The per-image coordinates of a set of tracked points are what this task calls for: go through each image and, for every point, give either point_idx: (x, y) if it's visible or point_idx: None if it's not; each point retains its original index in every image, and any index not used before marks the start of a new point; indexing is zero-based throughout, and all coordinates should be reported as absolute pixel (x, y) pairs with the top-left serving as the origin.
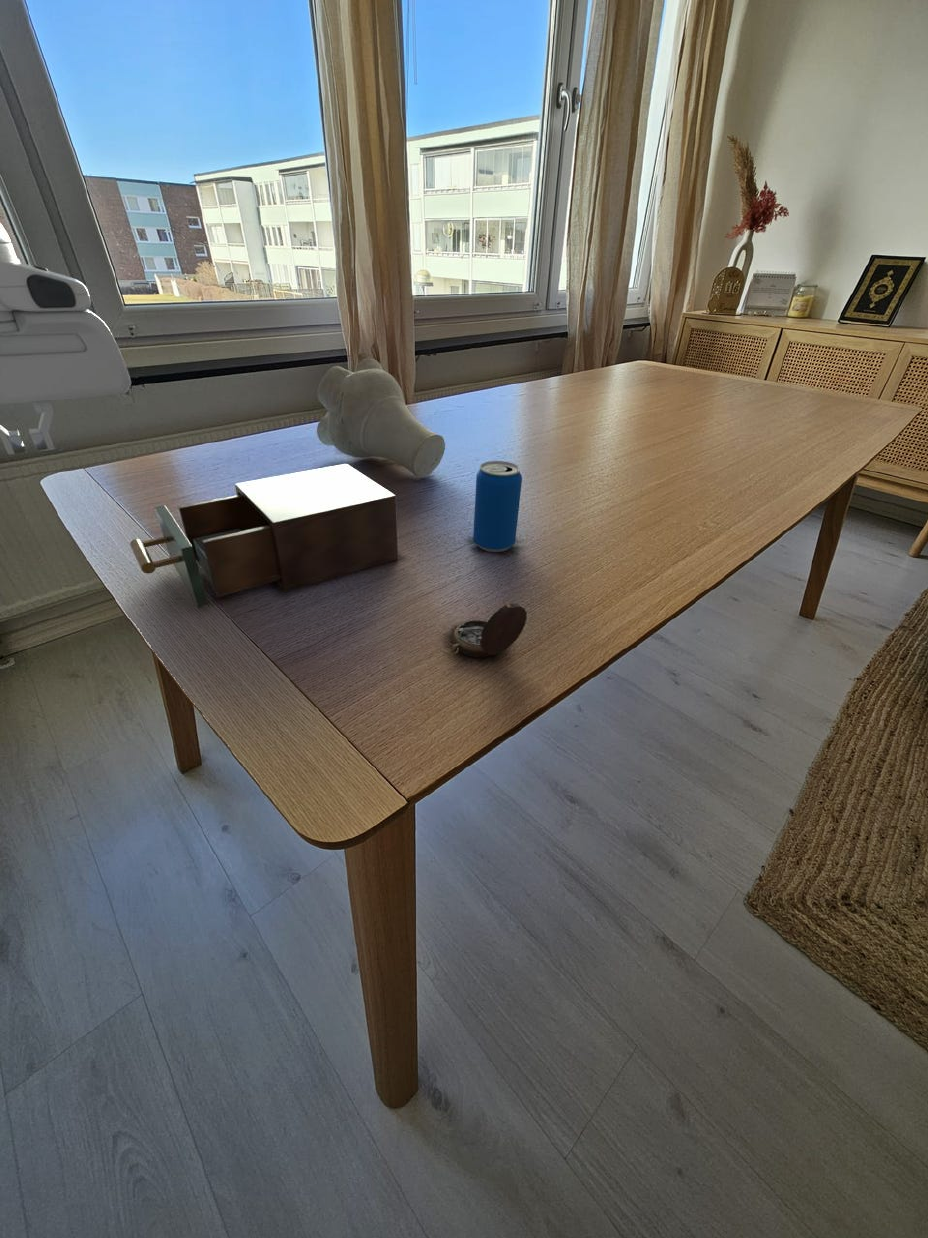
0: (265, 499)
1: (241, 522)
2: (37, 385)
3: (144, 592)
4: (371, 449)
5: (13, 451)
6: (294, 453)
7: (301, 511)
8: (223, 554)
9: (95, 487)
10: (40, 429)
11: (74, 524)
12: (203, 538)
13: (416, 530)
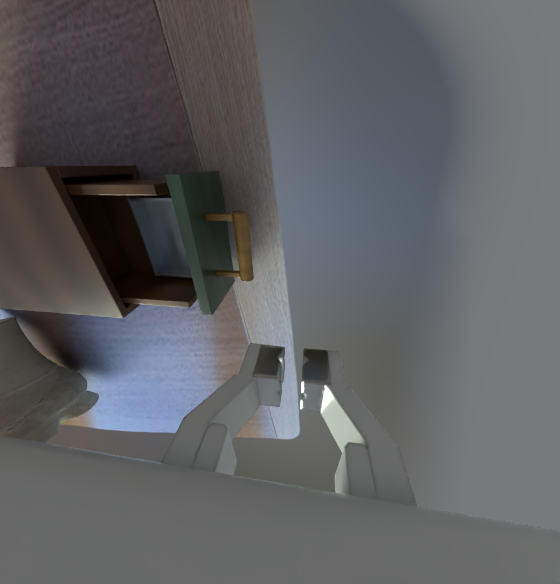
0: (76, 255)
1: (150, 282)
2: (115, 560)
3: (265, 247)
4: (44, 365)
5: (328, 352)
6: (134, 400)
7: (12, 187)
8: (149, 182)
9: (274, 417)
10: (249, 381)
11: (296, 379)
12: (190, 274)
13: None
